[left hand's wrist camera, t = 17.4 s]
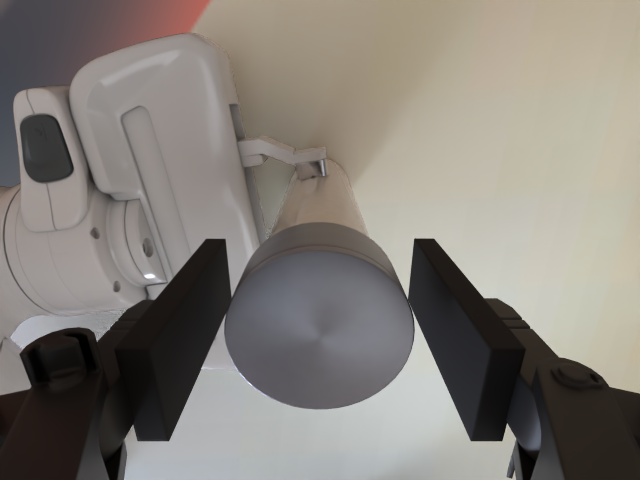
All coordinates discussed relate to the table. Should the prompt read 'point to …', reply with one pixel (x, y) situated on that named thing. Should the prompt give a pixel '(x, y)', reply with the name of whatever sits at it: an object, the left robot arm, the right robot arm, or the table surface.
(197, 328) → the left robot arm
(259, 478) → the table surface
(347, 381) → the lid
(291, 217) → the white cylinder
